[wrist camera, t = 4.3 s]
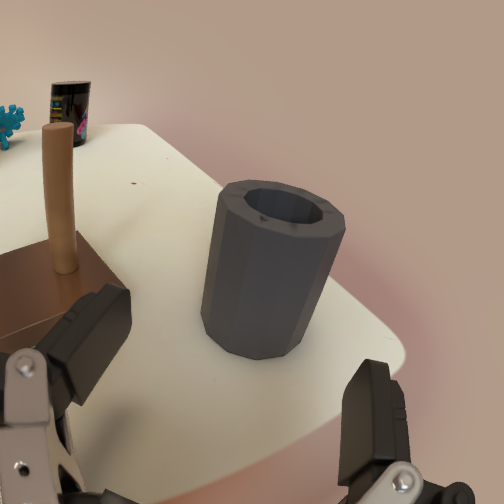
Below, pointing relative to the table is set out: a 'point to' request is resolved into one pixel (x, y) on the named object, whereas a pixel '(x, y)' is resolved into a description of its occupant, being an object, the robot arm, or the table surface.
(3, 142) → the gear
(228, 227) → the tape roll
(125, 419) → the table surface
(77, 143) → the supplement container
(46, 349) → the robot arm
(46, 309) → the rack
